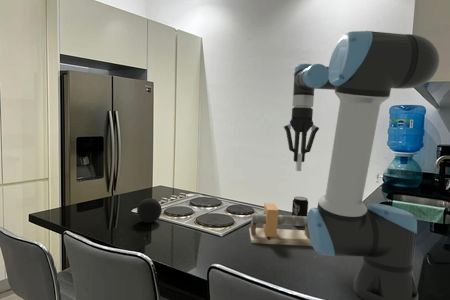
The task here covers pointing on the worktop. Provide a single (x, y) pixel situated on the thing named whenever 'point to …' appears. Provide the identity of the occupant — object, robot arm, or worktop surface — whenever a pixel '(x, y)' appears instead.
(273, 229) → the collar
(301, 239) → the pipe board
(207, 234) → the worktop surface
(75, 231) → the worktop surface
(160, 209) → the speaker
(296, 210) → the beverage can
